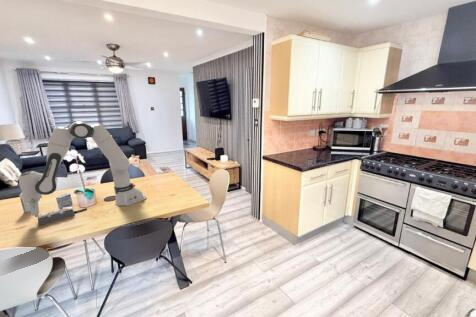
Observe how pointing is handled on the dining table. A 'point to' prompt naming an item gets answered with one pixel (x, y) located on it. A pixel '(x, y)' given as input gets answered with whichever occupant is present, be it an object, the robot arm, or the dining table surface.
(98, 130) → the robot arm
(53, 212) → the rocker
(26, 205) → the syrup box
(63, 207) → the rocker
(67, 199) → the medicine box
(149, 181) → the dining table surface
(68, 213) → the power strip
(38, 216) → the rocker
